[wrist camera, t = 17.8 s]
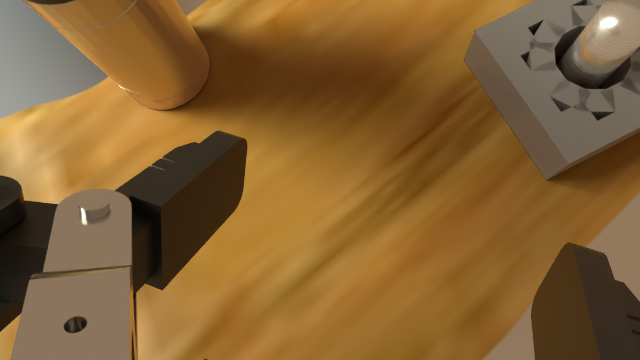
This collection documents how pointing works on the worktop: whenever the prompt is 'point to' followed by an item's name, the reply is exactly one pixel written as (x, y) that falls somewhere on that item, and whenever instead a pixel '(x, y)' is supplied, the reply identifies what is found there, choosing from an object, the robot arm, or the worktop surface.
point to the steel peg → (603, 44)
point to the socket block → (553, 85)
